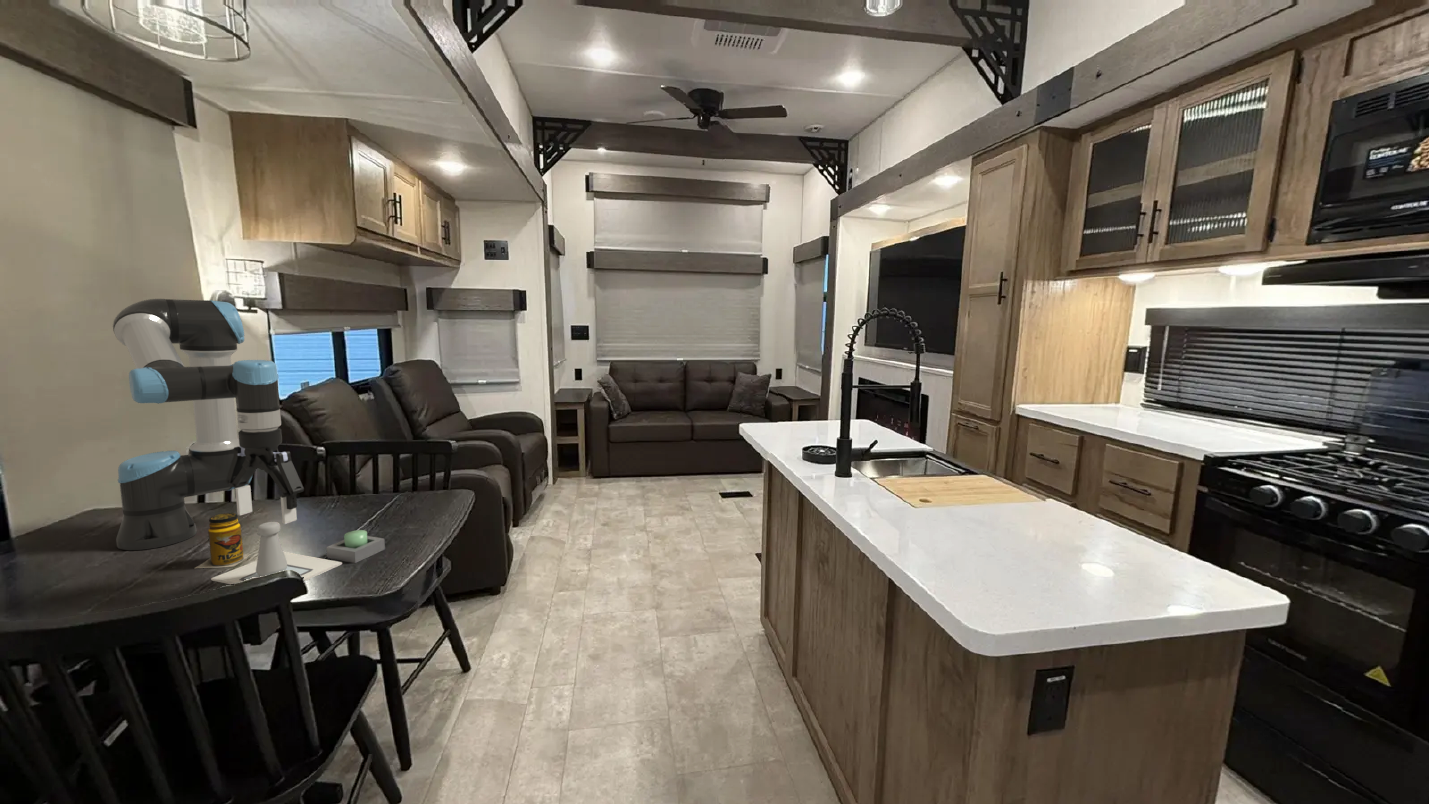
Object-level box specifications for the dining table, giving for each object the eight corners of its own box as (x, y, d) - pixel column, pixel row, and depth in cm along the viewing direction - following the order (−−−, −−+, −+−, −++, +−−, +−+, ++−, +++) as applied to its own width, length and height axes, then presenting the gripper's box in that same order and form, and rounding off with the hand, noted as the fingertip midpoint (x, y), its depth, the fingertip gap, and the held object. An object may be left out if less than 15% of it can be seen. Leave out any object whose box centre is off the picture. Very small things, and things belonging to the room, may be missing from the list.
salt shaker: (270, 583, 125) (265, 529, 123) (250, 580, 126) (245, 526, 124) (294, 572, 130) (290, 520, 128) (275, 569, 131) (270, 518, 130)
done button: (340, 550, 141) (339, 536, 140) (357, 543, 146) (356, 529, 145) (355, 553, 140) (354, 538, 139) (372, 545, 145) (371, 531, 144)
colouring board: (211, 580, 126) (210, 577, 126) (281, 553, 142) (281, 550, 142) (277, 594, 121) (276, 591, 121) (342, 564, 137) (342, 561, 137)
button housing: (327, 558, 140) (326, 547, 139) (358, 544, 148) (357, 534, 148) (355, 563, 138) (354, 551, 137) (384, 549, 146) (384, 538, 146)
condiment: (234, 566, 133) (230, 520, 132) (193, 569, 131) (188, 522, 130) (252, 554, 140) (248, 510, 139) (213, 556, 138) (209, 511, 137)
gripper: (200, 425, 122) (209, 515, 126) (285, 438, 116) (292, 531, 120) (236, 420, 129) (244, 504, 133) (319, 431, 123) (324, 519, 127)
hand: (267, 517), depth 126 cm, fingers open, 13 cm apart
